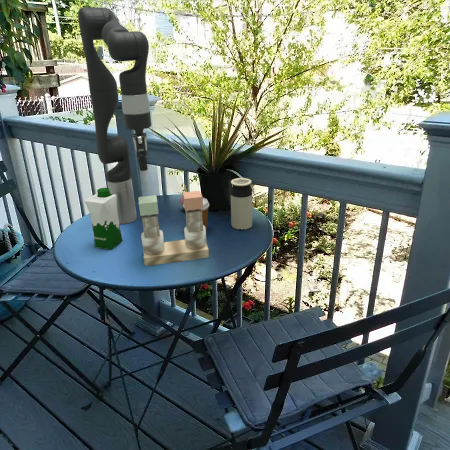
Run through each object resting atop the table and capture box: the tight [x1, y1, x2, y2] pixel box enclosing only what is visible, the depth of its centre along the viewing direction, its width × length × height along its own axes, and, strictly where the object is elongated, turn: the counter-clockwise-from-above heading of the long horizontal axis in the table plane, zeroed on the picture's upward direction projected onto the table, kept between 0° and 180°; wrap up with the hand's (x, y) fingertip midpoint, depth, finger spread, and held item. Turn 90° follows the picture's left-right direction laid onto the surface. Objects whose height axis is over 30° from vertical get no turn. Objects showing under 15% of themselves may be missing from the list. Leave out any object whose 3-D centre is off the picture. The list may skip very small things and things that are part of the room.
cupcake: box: [179, 184, 188, 206], centre depth 165 cm, size 9×8×12 cm
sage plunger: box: [138, 194, 160, 217], centre depth 127 cm, size 6×6×11 cm
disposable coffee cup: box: [182, 197, 210, 230], centre depth 148 cm, size 10×10×12 cm
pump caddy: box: [140, 209, 210, 267], centre depth 131 cm, size 21×9×16 cm, turn 102°
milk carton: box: [84, 187, 123, 251], centre depth 139 cm, size 9×9×20 cm
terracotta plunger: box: [182, 190, 204, 211], centre depth 129 cm, size 6×6×11 cm
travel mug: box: [230, 177, 253, 230], centre depth 149 cm, size 8×8×18 cm
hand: (143, 166), depth 119 cm, fingers open, 8 cm apart
